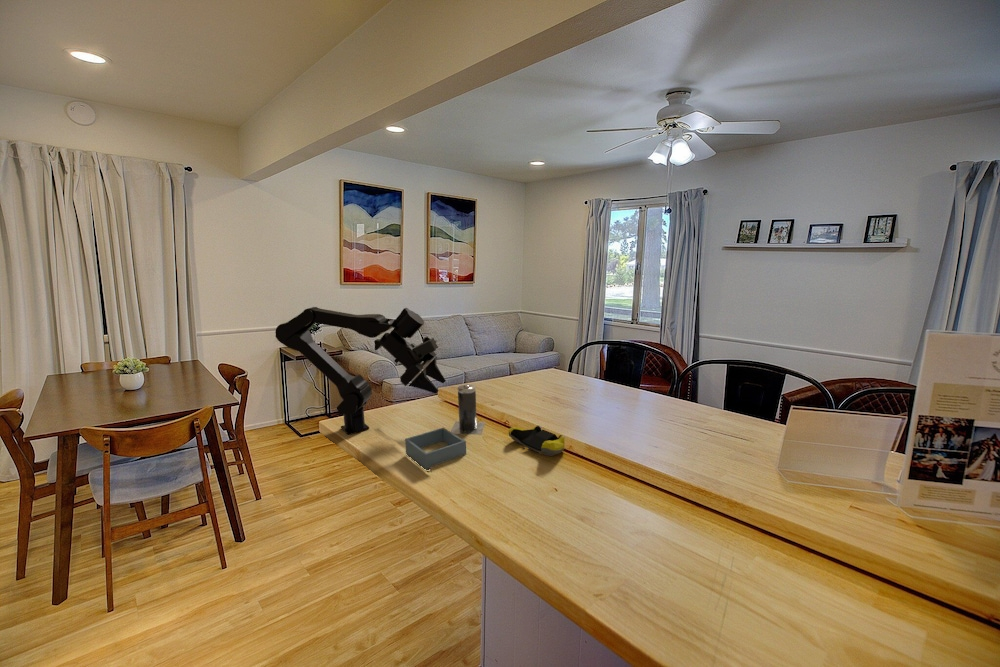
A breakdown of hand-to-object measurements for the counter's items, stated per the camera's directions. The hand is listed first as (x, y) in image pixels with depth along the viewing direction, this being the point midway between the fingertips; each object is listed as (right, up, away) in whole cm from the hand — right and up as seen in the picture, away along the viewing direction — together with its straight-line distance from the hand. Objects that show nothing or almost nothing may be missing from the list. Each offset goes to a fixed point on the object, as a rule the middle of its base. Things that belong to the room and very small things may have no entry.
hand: (441, 387), depth 125 cm
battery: (+8, -12, +2) cm, 14 cm away
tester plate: (+8, -13, +2) cm, 15 cm away
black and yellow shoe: (+27, -15, -11) cm, 33 cm away
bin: (0, -16, -13) cm, 21 cm away
